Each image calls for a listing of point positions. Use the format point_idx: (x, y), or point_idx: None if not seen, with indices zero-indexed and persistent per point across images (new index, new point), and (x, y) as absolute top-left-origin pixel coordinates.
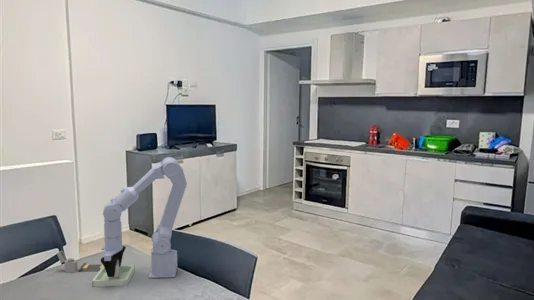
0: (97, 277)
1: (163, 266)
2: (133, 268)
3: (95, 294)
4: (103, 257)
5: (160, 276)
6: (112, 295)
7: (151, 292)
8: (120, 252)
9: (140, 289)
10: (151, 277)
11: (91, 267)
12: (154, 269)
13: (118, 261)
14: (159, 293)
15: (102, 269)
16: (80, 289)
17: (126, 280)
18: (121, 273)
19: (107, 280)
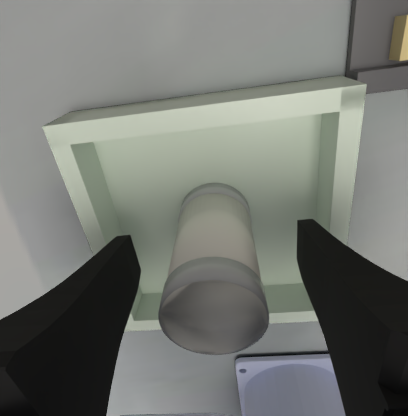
0: (131, 135)
1: None
2: (298, 317)
3: (5, 175)
4: (5, 385)
5: (239, 397)
6: (33, 265)
7: None
8: (348, 395)
9: (124, 349)
10: (236, 368)
11: None
12: (253, 414)
13: (211, 352)
14: (110, 402)
15: (281, 116)
16: (20, 21)
17: (125, 328)
18: (285, 234)
19: (88, 238)
